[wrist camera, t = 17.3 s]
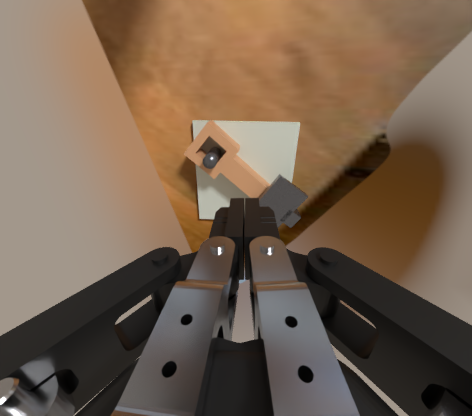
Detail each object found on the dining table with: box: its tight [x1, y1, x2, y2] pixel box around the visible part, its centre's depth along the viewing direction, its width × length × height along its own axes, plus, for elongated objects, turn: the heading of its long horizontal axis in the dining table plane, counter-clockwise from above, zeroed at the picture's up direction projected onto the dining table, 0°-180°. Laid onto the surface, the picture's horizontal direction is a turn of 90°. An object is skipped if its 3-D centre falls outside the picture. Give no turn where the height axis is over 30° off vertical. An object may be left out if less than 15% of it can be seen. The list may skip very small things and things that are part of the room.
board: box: [192, 120, 300, 219], centre depth 38 cm, size 18×17×1 cm
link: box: [184, 120, 270, 198], centre depth 35 cm, size 15×6×4 cm, turn 49°
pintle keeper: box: [203, 147, 308, 228], centre depth 36 cm, size 13×16×7 cm
